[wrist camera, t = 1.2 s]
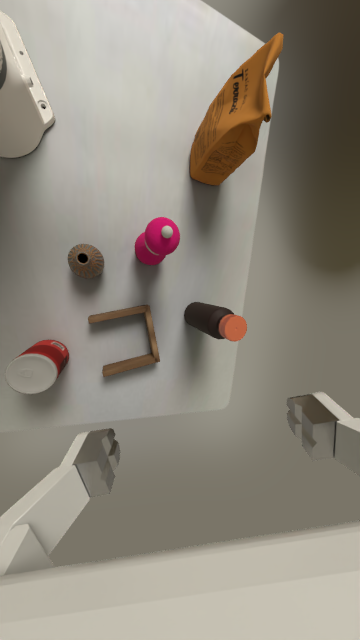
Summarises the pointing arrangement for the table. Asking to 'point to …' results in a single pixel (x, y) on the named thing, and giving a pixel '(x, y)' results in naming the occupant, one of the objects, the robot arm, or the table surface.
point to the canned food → (37, 367)
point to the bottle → (216, 321)
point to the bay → (135, 361)
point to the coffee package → (234, 118)
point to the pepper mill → (157, 241)
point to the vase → (85, 261)
